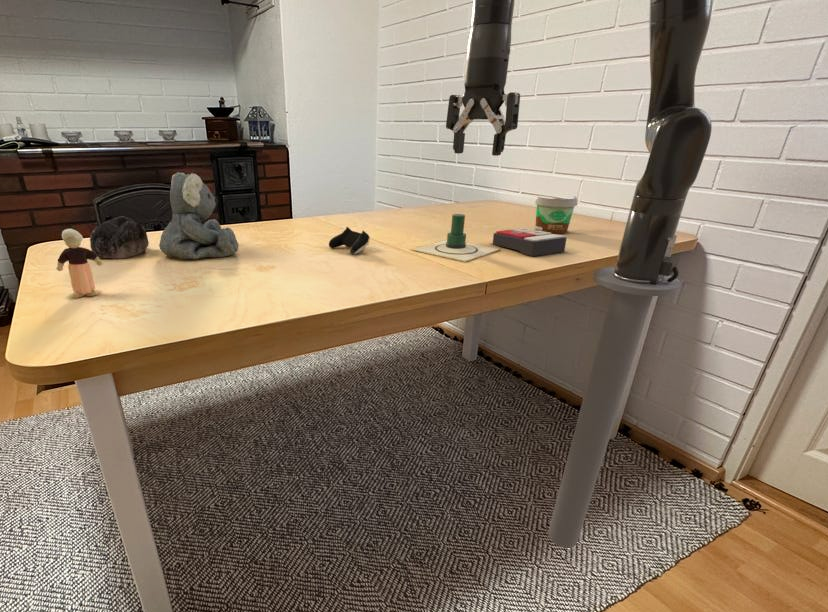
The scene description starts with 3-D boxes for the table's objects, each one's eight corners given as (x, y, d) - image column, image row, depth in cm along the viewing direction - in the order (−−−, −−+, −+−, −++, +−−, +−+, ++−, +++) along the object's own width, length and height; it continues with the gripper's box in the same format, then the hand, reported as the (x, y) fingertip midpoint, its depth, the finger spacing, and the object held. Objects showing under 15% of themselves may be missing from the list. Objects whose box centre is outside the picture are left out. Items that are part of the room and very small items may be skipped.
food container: (539, 235, 136) (545, 199, 131) (530, 231, 142) (536, 196, 137) (579, 234, 137) (587, 199, 132) (569, 230, 142) (576, 196, 138)
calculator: (524, 226, 130) (568, 234, 117) (522, 242, 131) (565, 251, 119) (493, 230, 125) (535, 238, 113) (491, 246, 127) (532, 256, 115)
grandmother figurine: (67, 301, 88) (47, 233, 82) (64, 295, 91) (44, 229, 85) (111, 293, 92) (94, 227, 86) (107, 288, 95) (91, 224, 89)
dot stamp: (469, 246, 123) (473, 215, 120) (458, 249, 120) (461, 217, 116) (453, 243, 127) (456, 212, 123) (441, 246, 123) (444, 215, 120)
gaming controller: (361, 262, 119) (376, 240, 120) (352, 251, 116) (367, 229, 116) (335, 253, 126) (349, 233, 127) (325, 243, 123) (340, 222, 124)
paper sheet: (499, 250, 121) (499, 248, 121) (465, 261, 111) (465, 260, 111) (448, 240, 131) (448, 238, 131) (412, 250, 121) (412, 248, 121)
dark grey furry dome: (88, 254, 121) (75, 216, 116) (141, 242, 128) (131, 205, 123) (101, 269, 113) (87, 229, 107) (157, 256, 119) (146, 217, 114)
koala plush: (242, 256, 117) (233, 172, 108) (168, 266, 109) (151, 176, 100) (223, 242, 130) (213, 166, 121) (155, 250, 122) (140, 170, 113)
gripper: (443, 58, 87) (436, 153, 94) (513, 51, 78) (499, 157, 85) (465, 61, 92) (457, 152, 99) (534, 55, 83) (519, 155, 90)
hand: (477, 154), depth 92 cm, fingers open, 8 cm apart
